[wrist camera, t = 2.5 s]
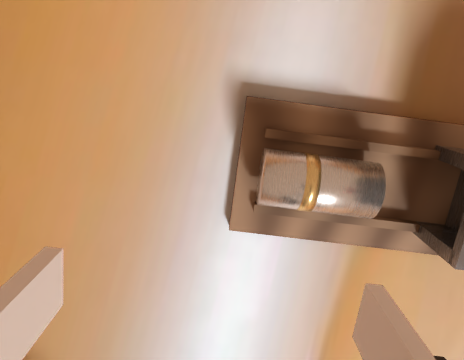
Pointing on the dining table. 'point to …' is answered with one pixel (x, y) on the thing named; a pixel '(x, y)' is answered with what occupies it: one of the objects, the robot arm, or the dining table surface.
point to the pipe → (320, 183)
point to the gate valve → (448, 217)
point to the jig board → (358, 148)
